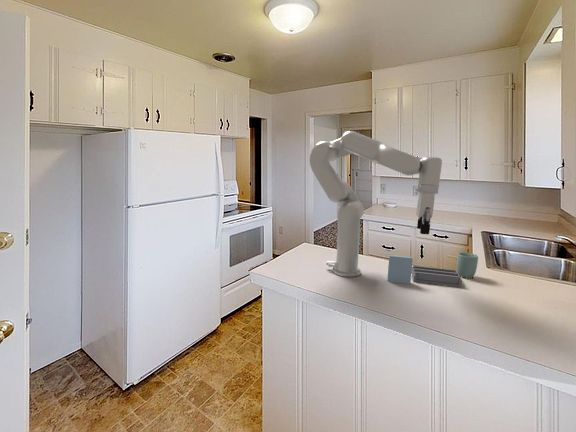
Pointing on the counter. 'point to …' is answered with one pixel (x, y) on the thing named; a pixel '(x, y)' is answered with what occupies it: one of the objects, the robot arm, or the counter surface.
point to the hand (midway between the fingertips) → (422, 231)
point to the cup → (467, 264)
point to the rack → (436, 276)
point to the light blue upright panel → (399, 269)
